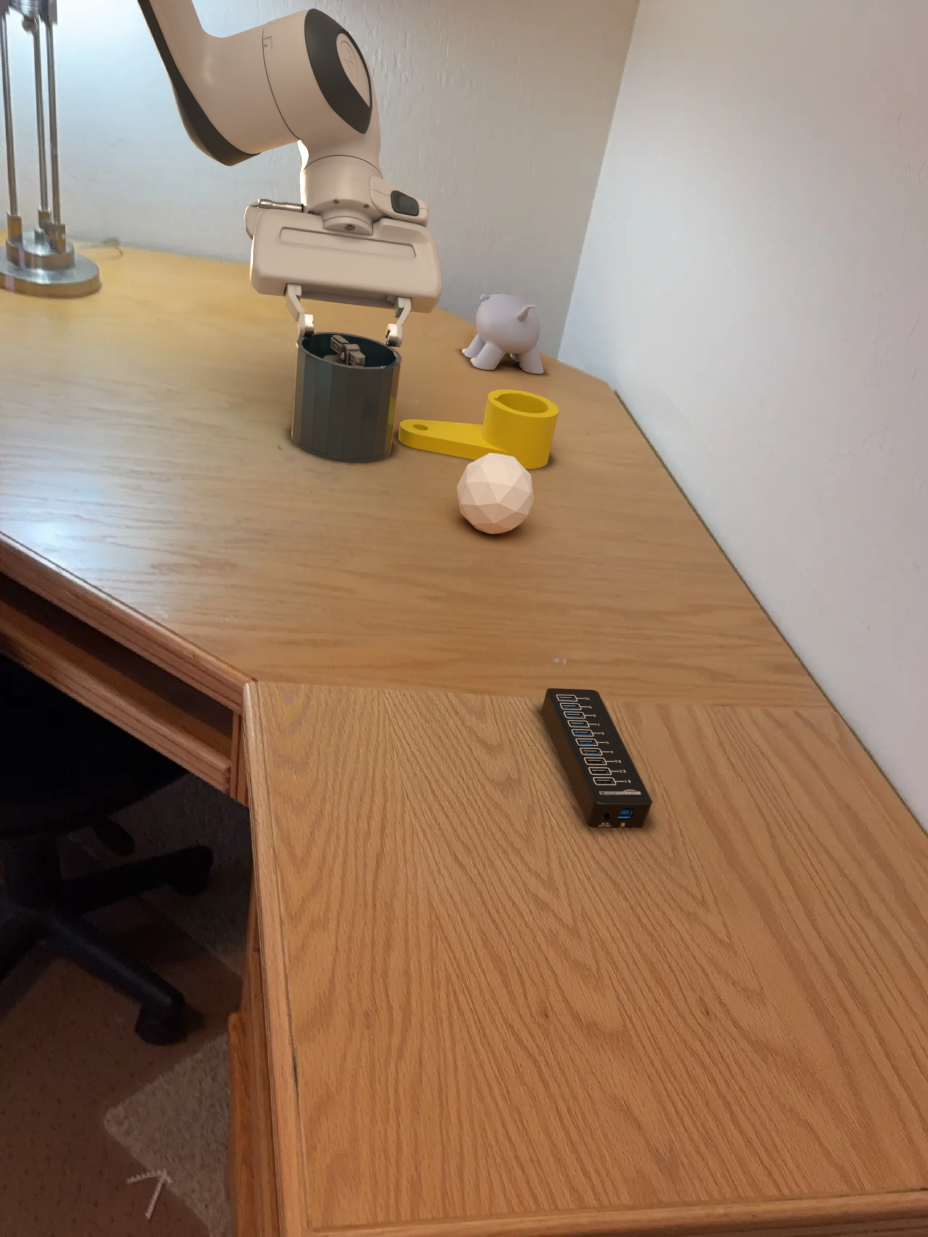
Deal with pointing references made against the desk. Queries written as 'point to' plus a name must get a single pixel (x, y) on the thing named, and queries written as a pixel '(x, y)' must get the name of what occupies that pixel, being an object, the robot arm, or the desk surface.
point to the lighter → (345, 352)
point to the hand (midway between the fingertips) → (350, 339)
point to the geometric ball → (495, 493)
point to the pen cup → (344, 399)
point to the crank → (492, 430)
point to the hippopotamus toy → (505, 333)
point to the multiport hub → (595, 759)
